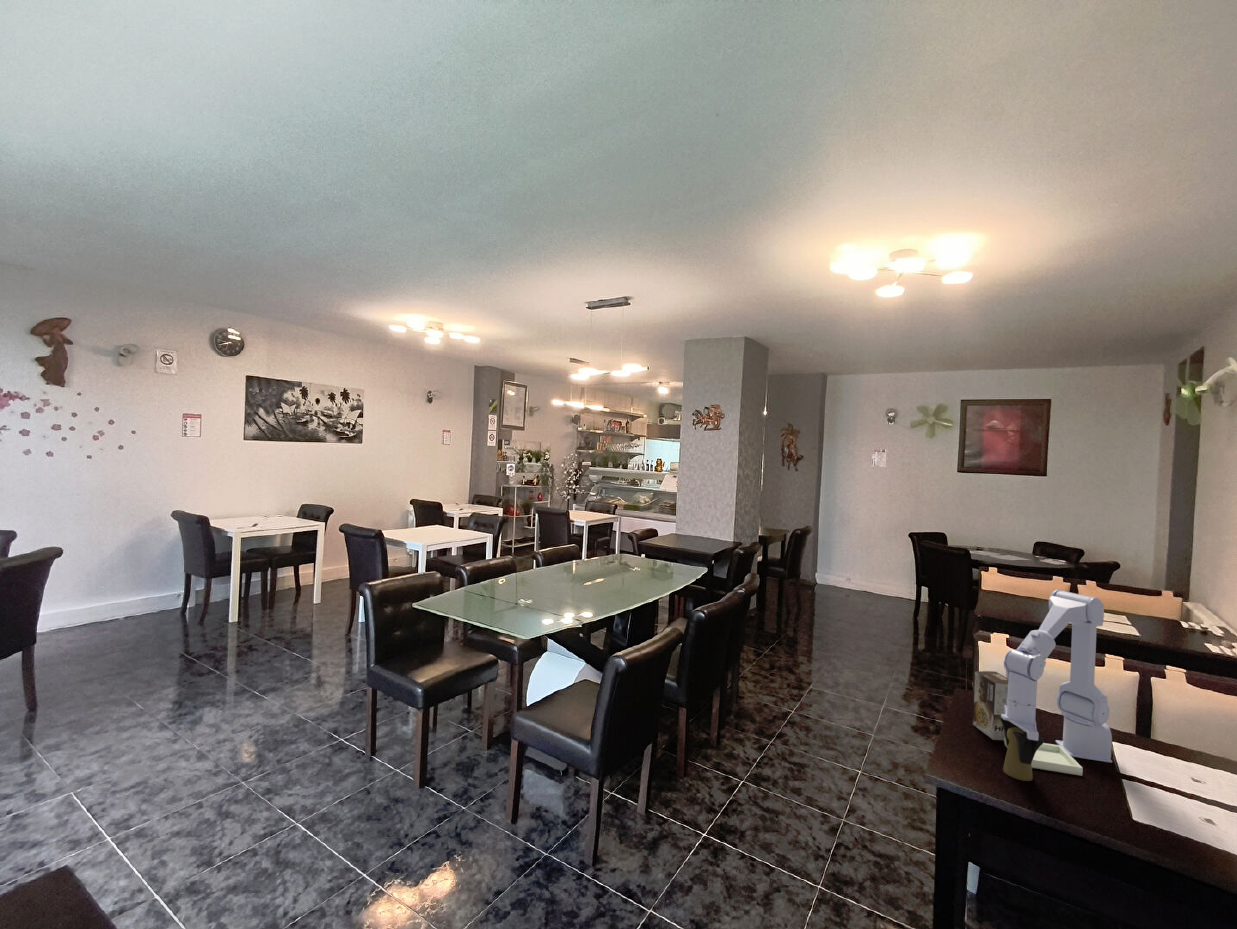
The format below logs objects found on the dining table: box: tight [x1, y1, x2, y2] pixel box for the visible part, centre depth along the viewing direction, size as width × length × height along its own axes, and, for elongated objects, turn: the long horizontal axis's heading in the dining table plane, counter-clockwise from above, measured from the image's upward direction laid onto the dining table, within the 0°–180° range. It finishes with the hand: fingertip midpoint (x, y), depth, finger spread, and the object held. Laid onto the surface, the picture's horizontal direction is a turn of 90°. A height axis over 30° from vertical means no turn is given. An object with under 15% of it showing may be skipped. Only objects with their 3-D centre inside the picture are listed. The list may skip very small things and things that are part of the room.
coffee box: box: [972, 670, 1008, 741], centre depth 156 cm, size 9×6×16 cm
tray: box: [1003, 739, 1084, 777], centre depth 143 cm, size 13×11×2 cm
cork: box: [1002, 727, 1034, 782], centre depth 136 cm, size 6×6×11 cm
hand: (1018, 754), depth 136 cm, fingers open, 7 cm apart
